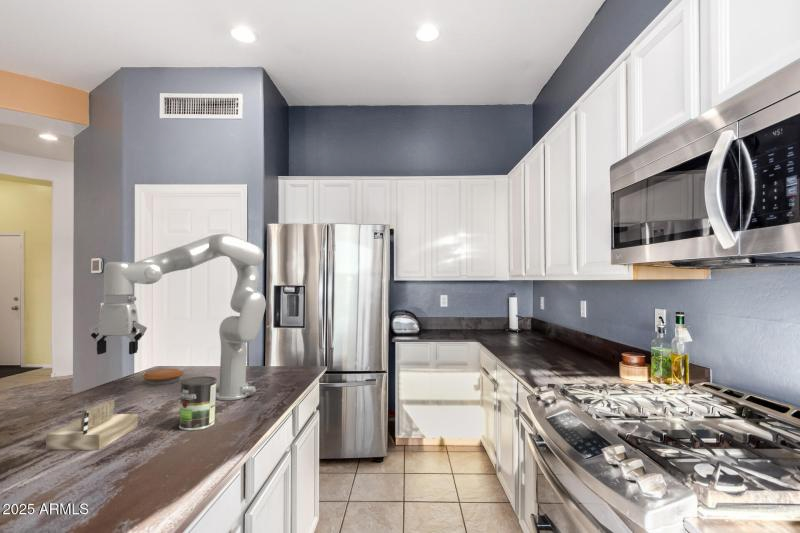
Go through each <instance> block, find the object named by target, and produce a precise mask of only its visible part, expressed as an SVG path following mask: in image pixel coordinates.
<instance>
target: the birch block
mask: <svg viewBox="0 0 800 533" xmlns="http://www.w3.org/2000/svg"><path fill="white" fill-rule="evenodd" d="M81 419H82V417H81V418H80V419H77V420H75V421H72V422H71V423H68V424H67V425H64V426H61V427H60V428H58V429H56V430H53V431H51V432H49V433H47V434H46V440H45V441H46V442H45V450H59V451H60V450H63V451H64V450H66V451H67V450H68V451H69V450H71V451H77V450H79V451H80V450H81V451H87V450H88V451H100V450H102V449H103V448H104V447H106V446H108V445H110V444H111V443H113V442H115V441H117V440H118V439H120V438H122V437H124V436H126V435H127V434H128V433H130V432H131V431H133V430H134V431H135V429H137V428H138V423H139V420H138V419H139V415H138V414H137V413H113V415H112V418H111V419H110V420H108V421H106V422H103V423H101V424H99V425H97V426H94V427H92V428H90V429H87V434H84V435H83V431H82V430H81ZM99 449H100V450H99Z"/></svg>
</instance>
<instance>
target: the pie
mask: <svg viewBox="0 0 800 533" xmlns="http://www.w3.org/2000/svg"><path fill="white" fill-rule="evenodd" d="M183 375H184V371H183V370H180V369H178V368H161V369H154V370H151V371H148V372H147V373H145V374H143V375H142V378H143V379H144V380H145V381H146V383H147V384H148V385H150V386H166V385H171V384H174V383H177V382H178V381H179V379H180V378H181V376H183Z"/></svg>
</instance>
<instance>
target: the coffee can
mask: <svg viewBox="0 0 800 533" xmlns="http://www.w3.org/2000/svg"><path fill="white" fill-rule="evenodd" d="M217 381H218V379H217V377H214V376H210V375H209V376H193V377H188V378H185V379H183V380H181V381H180V404H179V422H178V423H179V425H178V428H179V429H180V430H181V431H199V430H204V429H207V428H210V427H211V426H213V425H214V424H215V423H216V422H215V418H216V417H215V416H216V415H215V414H216V393H217Z"/></svg>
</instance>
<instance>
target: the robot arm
mask: <svg viewBox="0 0 800 533" xmlns="http://www.w3.org/2000/svg"><path fill="white" fill-rule="evenodd" d="M264 256H265V255H264V252H263V250H262V248H261V247H259V246H258V245H256V244H254V243H252V242H249V241H247V240H244V239H242V238H240V237H237V236H235V235H234V234H233V235H232V234H229V233H218V234H212V235H208V236H206V237H203V238H200V239H198V240H194V241H192V242H189V243H186V244H183V245H181V246H178V247H174V248H172V249H170V250H167V251H164V252H161V253H158V254H154V255H153V256H149V257H147V258H143V259H141V260H138V261H135V262H127V261H108V262H106V263H105V265H104V268H103V270H104V271H103V272H104V273H103V277H104V278H103V304H101V306H100V310H99V314H98V323H96V324H94V325H92V326H89V327H88V331H89V333H90V337H92V338H93V340H94V342H96V355H103V354H106V353H107V340H106V339H107V337H128V339H129V340H130V341H129V342H128V354H129V355H133V354H137V353H138V349H139V341H140V340H141V339H142V337H143V336H144V335H145V333H146V331H147V329H148V328H147V326H145V325H143V324H141V323H139V318H138V316H139V315H138V310H137V307H136V304H135V303H133V302H135V301H137V297H136V296H134V294H133V291H134V284H138V285H139V284H140V285H141V284H142V285H153V284H155V283H158V282H159V281H160V280H161V279H162V278H163V277H162V276H163V275H166V274H168V273H172V272H177V271H184V270H188V269H192V268H195V267H197V266H200V265H202V264H205V263H207V262H209V261H212V260H214V259H216V258H220V257H228V258H229V260H230V262H231V264H232V265H233V266H234V268H235V270H236V272H237V275H236V277H237V278H236V282H235V286H234V289H233V293H232V296H231V299H230V307H231V308H230V309H232V311H234V312H235V313H238V314H239V315H230V316H227V317H226V318H223V320H222V321H221V323H220V324H219V330H218V332H219V333H218V334H219V339H220V340H219V341H220V362H219V364H220V367H219V388H218V389H219V390H218V391H216V398H215V400H219V401H236V400H241V399H245V398H247V397H248V396H250V393H256V391H257V389H256V387H255V386H254V385H253V386H252V385H251V386H249V382H246V380H247V379H246V376H247V355H248V350H247V349H248V348H247V343H250V342H252V341H254V340H255V339H256V338H257V337H258V334H259V332H260V329H261V326H262V323H263V322H262V321H263V319H264V314H265V311H266V307H267V303H266V302H267V301H266V299H265V298H266V297H265V295H263V293H262V292H260V291H259V290H258V288H259V283H260V272H259V268H258V266H259V265H261V264H262V262H263V261H264Z"/></svg>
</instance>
